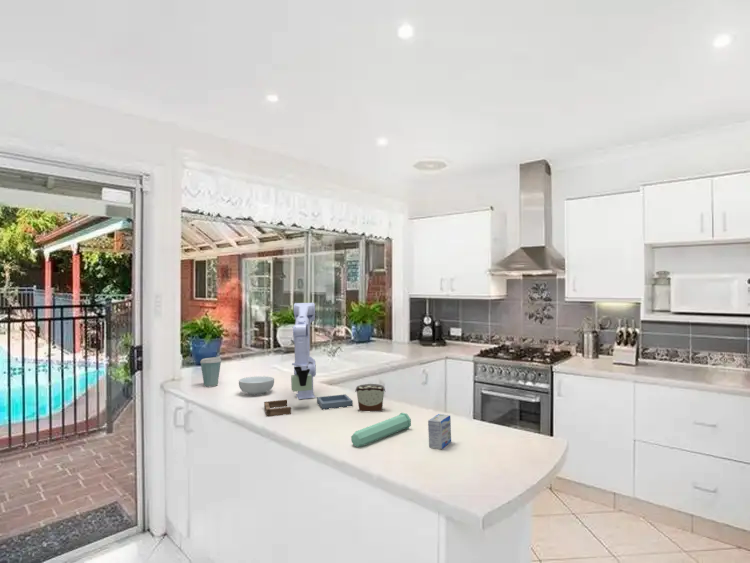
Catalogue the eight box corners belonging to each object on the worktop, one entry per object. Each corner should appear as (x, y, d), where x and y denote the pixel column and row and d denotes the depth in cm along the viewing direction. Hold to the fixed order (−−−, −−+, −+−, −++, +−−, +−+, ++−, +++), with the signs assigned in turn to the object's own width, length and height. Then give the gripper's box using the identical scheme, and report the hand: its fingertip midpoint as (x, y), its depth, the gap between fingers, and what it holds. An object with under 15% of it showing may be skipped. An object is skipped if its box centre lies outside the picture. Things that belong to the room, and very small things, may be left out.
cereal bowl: (269, 397, 208) (269, 382, 208) (234, 398, 208) (233, 383, 208) (278, 389, 225) (277, 375, 225) (245, 389, 225) (245, 375, 225)
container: (357, 429, 139) (408, 410, 157) (345, 433, 143) (396, 414, 161) (363, 448, 138) (413, 427, 156) (351, 451, 142) (401, 430, 160)
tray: (317, 402, 196) (316, 397, 196) (345, 399, 200) (345, 394, 200) (322, 409, 184) (322, 403, 184) (352, 406, 188) (352, 400, 188)
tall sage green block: (291, 389, 189) (291, 375, 189) (310, 387, 191) (309, 373, 191) (292, 391, 185) (292, 377, 185) (312, 389, 187) (311, 375, 187)
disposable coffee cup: (196, 387, 232) (195, 359, 232) (207, 383, 242) (206, 355, 243) (215, 388, 230) (214, 359, 230) (225, 383, 241) (225, 355, 241)
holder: (264, 407, 190) (264, 401, 190) (286, 405, 193) (286, 399, 193) (266, 416, 177) (266, 410, 177) (291, 413, 179) (290, 407, 179)
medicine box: (441, 450, 136) (440, 421, 137) (428, 447, 139) (427, 419, 139) (451, 442, 143) (450, 415, 143) (438, 439, 145) (438, 413, 146)
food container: (386, 407, 186) (386, 383, 186) (385, 411, 180) (385, 386, 180) (357, 407, 187) (357, 383, 187) (355, 411, 181) (355, 386, 181)
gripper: (289, 350, 194) (290, 381, 194) (294, 355, 180) (294, 389, 180) (306, 349, 196) (306, 380, 196) (311, 354, 182) (312, 387, 182)
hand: (302, 384), depth 188 cm, fingers closed on tall sage green block, 4 cm apart
